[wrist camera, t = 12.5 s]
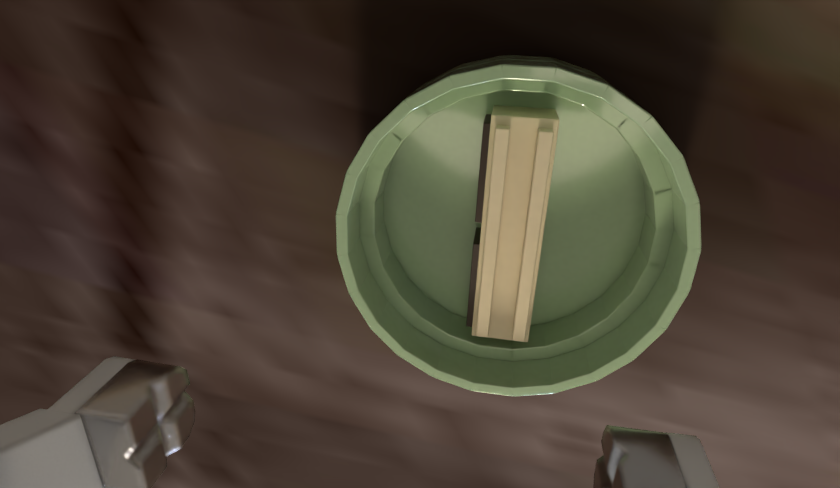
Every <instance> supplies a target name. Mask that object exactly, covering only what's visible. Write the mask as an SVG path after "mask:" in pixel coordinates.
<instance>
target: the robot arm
mask: <svg viewBox="0 0 840 488" xmlns="http://www.w3.org/2000/svg"><path fill="white" fill-rule="evenodd" d="M189 384H190V381H189V377H188V373H187V370H186V369H184V368H182V367H180V366H173V365H167V364H161V363H155V362H149V361H143V360H133V359H127V358H121V357H116V356H114V357H111V358H107V359H105V360H104V361H103V362H102V363H101V364H99V365H98V366H97V367H96V368H95V369H94V370H93V371H91V372H90V373H89V374H88V375H87V376H86V377H85V378H83V379H82V380H81V381H80V382H79V383H78V384H76V385H75V386H74V387H73V388H72V389H71V390H70V391H68V392H67V393H66V394H65V395H64V396H63V397H62V398H60V399H59V400H58V401H57V402H56V403H55V404H54V405H52V406H51V407H50V408H49V409H48V410H46V409H38V410H36V411H33V412H31V413H28V414H26V415H24V416H21V417H19V418H16V419H14V420H11V421H9V422H6V423H4V424H1V425H0V488H151V487H152V486H153V485H154V483H155V482H156V481H157V479H158V478H159V477H160V475H161V474H162V473H163V471H164V470H165V469H166V467H167V456H168V455H170V454H172V453H173V452H175V451H177V450H179V449H181V447H182V446H183V445H184V443H185V442H186V440H187V439H188V437H189V436H190V433H191V430H192V427H193V425H194V421H195V406H194V401H193V400H192V399H191V397H190V396H189V395H188V394H187V393H186V392H185V390H186V388H187V387H188V385H189ZM601 443H602V449H603V456H602V457H600V458H599V459H598V460H597V463H596V468H595V473H594V486H593V488H720V487H719V484H718V482H717V480H716V477H715V475H714V472H713V470H712V467H711V465H710V463H709V460H708V458H707V455H706V453H705V451H704V448H703V446H702V443H701V441H700V440H699V439H698V438H697V437H696V436H692V435H683V434H675V433H667V432H666V433H663V432H655V431H648V430H640V429H632V428H625V427H617V426H609V425H607V426H606V428H605V430H604V432H603V436H602V440H601Z"/></svg>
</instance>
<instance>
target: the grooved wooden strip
mask: <svg viewBox="0 0 840 488" xmlns="http://www.w3.org/2000/svg"><path fill="white" fill-rule="evenodd" d="M559 122H560V120H559V117H558V114H557V112H556V109H546V108H531V107H515V106H500V105H494V106H493V110H492V114H486V116H485V119H484V123H483V133H482V144H481V156H480V168H479V180H478V192H477V203H476V215H475V222H476V223H481V228H479V227H476V231H475V236H474V242H473V251H472V262H471V274H470V286H469V298H468V310H467V321H466V326H468V327H472V336H479V337H488V338H496V339H504V340H513V341H520V342H528V339H529V332H530V325H531V318H532V311H533V304H534V297H535V290H536V283H537V276H538V269H539V262H540V255H541V248H542V241H543V234H544V227H545V220H546V213H547V206H548V199H549V192H550V185H551V178H552V171H553V164H554V157H555V150H556V143H557V136H558V129H559Z"/></svg>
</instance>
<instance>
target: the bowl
mask: <svg viewBox="0 0 840 488" xmlns="http://www.w3.org/2000/svg"><path fill="white" fill-rule="evenodd" d="M494 105H500V106H515V107H531V108H546V109H556V112H557V114H558V117H559V120H560V122H559V129H558V136H557V143H556V150H555V157H554V164H553V171H552V178H551V185H550V192H549V199H548V206H547V213H546V220H545V227H544V234H543V241H542V248H541V255H540V262H539V269H538V276H537V283H536V290H535V297H534V304H533V311H532V318H531V325H530V332H529V339H528V342H520V341H513V340H504V339H496V338H488V337H479V336H472V327H468V326H466V321H467V310H468V298H469V286H470V274H471V262H472V251H473V242H474V236H475V231H476V227H479V228H481V223H476V222H475V215H476V203H477V192H478V180H479V168H480V156H481V144H482V133H483V123H484V119H485V116H486V114H492V110H493V106H494ZM336 241H337V257H338V260H339V263H340V266H341V270H342V273H343V276H344V279H345V283H346V286H347V289H348V292H349V294H350V296H351V298H352V299H353V301H354V303H355V304H356V306H357V308H358V309H359V311H360V312H361V314H362V316H363V317H364V319H365V321H366V322H367V324H368V325H369V327H370V328H371V329H372V330H373V331H374V332H375V333H376V334H377V335H378V336H379V337H380V338H381V339H382V340H383V341H384V342H385V343H386V344H387V345H388V346H389V347H390V348H391V349H392V350H393V351H394V352H395V353H396V354H397V355H399V356H400V357H401V358H403V359H404V360H406V361H408V362H409V363H411V364H412V365H414V366H416V367H417V368H419V369H421V370H422V371H424V372H425V373H427V374H429V375H430V376H433V377H434V378H437V379H440V380H442V381H445V382H448V383H451V384H454V385H456V386H459V387H462V388H465V389H468V390H472V391H476V392H484V393H491V394H499V395H506V396H513V397H514V396H527V395H541V394H554V393H557V392H561V391H564V390H568V389H571V388H574V387H578V386H581V385H585V384H588V383H591V382H595V380H596V381H597V380H599V379H601V378H603V377H605V376H606V375H608V374H610V373H612V372H613V371H615V370H617V369H619V368H621V367H622V366H624V365H626V364H628V363H630V362H631V361H633V359H635V358H636V357H637V356H639V355H640V354H641V353H642V352H643V351H644V350H645V349H646V348H647V347H648V346H649V345H650V344H651V343H652V342H654V341H655V340H656V339H657V338H658V337H659V336H660V335H661V334H662V333H663V332H664V331H665V329H667V327H668V326H669V324H670V322H671V321H672V319H673V318H674V316H675V314H676V313H677V311H678V310H679V308H680V306H681V305H682V303H683V302H684V300H685V298H686V297H687V295H688V293H689V292H690V288H691V285H692V281H693V278H694V274H695V270H696V267H697V263H698V260H699V256H700V252H701V218H700V202H699V198H698V195H697V192H696V189H695V187H694V184H693V181H692V178H691V175H690V173H689V170H688V167H687V164H686V162H685V159H684V157H683V155H682V153H681V152H680V151H679V149H678V148H677V147H676V146H675V144H674V143H673V142H672V140H671V139H670V138H669V136H668V135H667V134H666V133H665V131H664V130H663V129H662V127H661V126H660V125H659V123H658V122H657V121H656V120H655V118H654V117H653V116H652V115H651V114H650V113H648V112H647V111H646V110H645V109H643V108H642V107H641V106H640V105H639V104H637V103H636V102H635V101H634V100H632V99H631V98H630V97H628V96H627V95H626V94H624V93H623V92H621V91H620V90H619V89H617V88H616V87H614V86H613V85H611V84H610V83H609V82H607V81H606V80H604V79H603V78H602V77H600V76H599V75H597V74H596V73H593V72H592V71H589V70H587V69H584V68H581V67H578V66H575V65H572V64H569V63H566V62H563V61H560V60H557V59H554V58H550V57H539V56H519V55H501V56H496V57H492V58H487V59H483V60H479V61H474V62H470V63H465V64H461V65H458V66H456V67H455V68H453V69H451V70H449V71H447V72H445V73H443V74H441V75H440V76H438V77H436V78H434V79H432V80H430V81H428V82H426V83H425V84H423V85H421V86H420V87H419V88H417V89H416V90H415V91H414V92H413V93H411V94H410V95H409V96H408V97H407V98H405V99H404V100H403V101H402V102H401V103H400V104H399V105H398V106H397V107H396V108H395V109H394V110H393V111H391V112H390V113H389V114H388V115H387V116H386V117H385V118H384V119H383V120H382V121H381V122H380V123H379V124H378V125H377V126H376V127H375V128H374V129H373V130H372V131H370V133H369V134H368V135H367V137H366V139H365V141H364V142H363V144H362V146H361V147H360V149H359V151H358V153H357V154H356V156H355V158H354V159H353V161H352V163H351V165H350V166H349V168H348V170H347V173H346V175H345V179H344V183H343V187H342V191H341V194H340V198H339V202H338V206H337V210H336Z"/></svg>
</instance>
